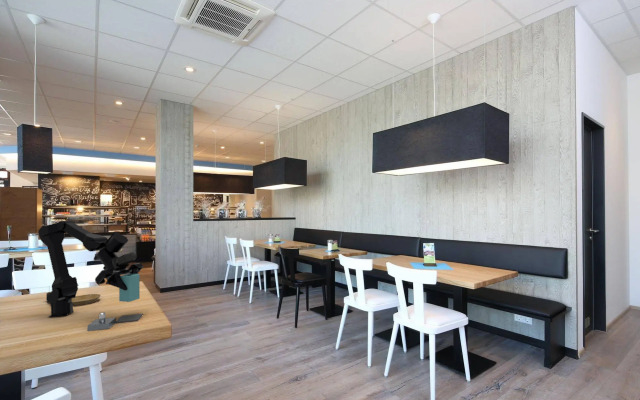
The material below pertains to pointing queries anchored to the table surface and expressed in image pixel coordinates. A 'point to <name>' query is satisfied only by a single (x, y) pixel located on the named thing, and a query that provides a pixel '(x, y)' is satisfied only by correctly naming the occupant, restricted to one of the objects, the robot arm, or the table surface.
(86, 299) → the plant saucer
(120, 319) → the rubber mat
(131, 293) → the teal sleeve
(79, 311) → the table surface
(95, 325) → the steel stand
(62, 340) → the table surface
